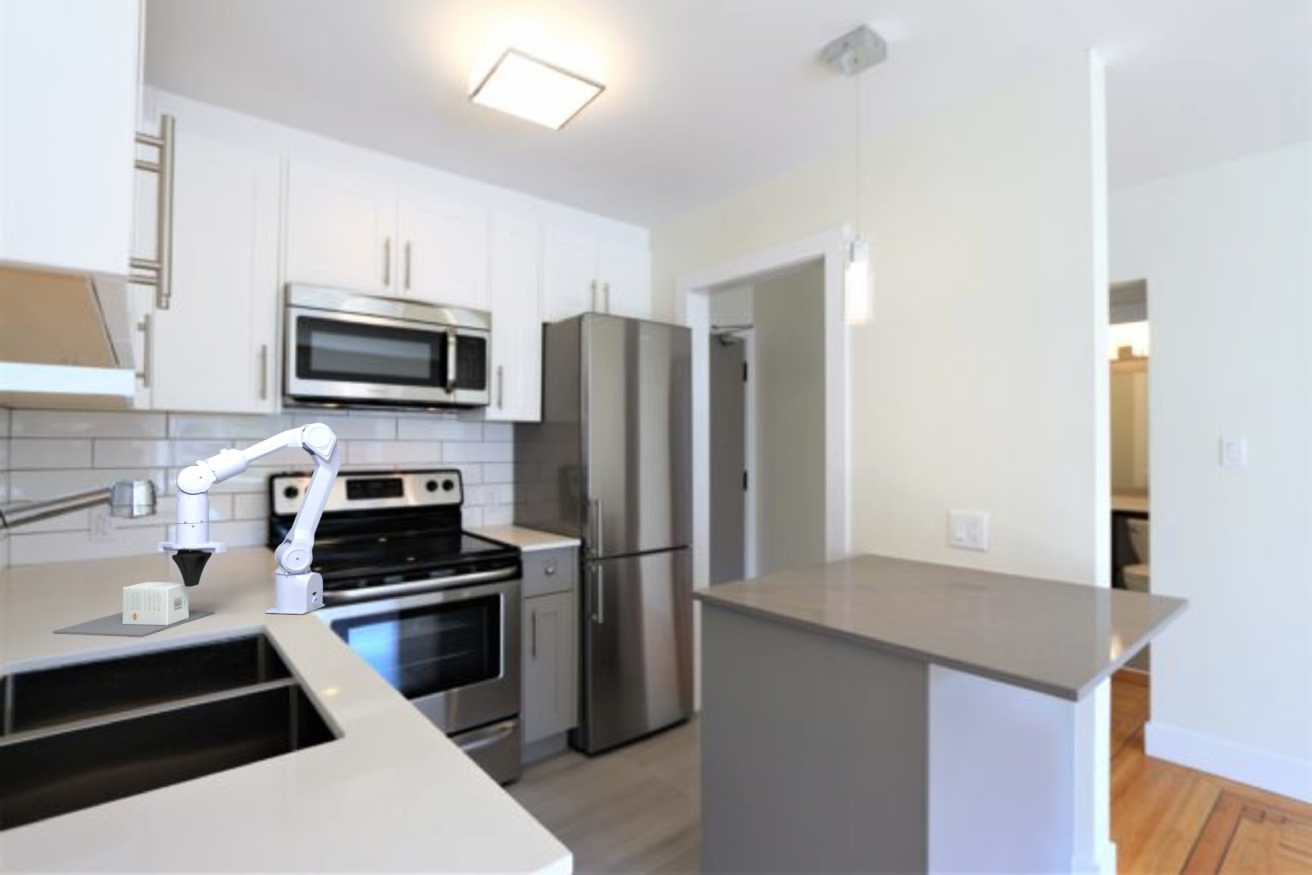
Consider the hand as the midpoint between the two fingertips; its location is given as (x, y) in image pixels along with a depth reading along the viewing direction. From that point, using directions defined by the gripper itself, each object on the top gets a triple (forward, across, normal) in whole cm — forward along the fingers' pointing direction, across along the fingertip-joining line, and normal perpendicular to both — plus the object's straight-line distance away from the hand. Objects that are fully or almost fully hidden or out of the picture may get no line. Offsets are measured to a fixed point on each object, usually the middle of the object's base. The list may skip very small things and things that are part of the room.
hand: (191, 585), depth 134 cm
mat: (+8, -12, 0) cm, 15 cm away
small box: (+4, -3, 0) cm, 5 cm away
